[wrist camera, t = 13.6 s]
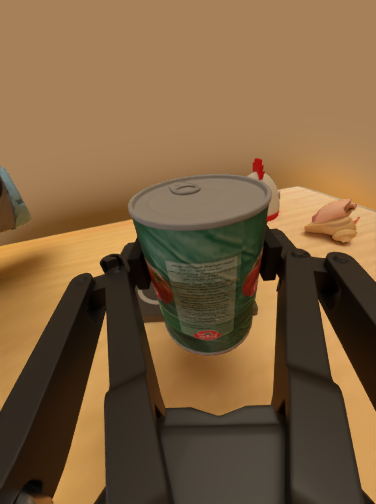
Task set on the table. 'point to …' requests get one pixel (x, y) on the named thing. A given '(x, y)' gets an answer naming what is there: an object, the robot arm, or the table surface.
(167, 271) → the canned tomato
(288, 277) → the robot arm
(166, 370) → the table surface
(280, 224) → the table surface
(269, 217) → the kitchen timer
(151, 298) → the hob
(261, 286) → the table surface
